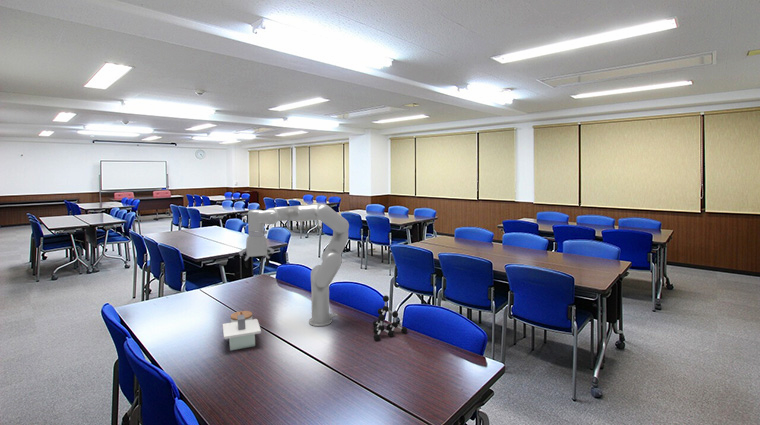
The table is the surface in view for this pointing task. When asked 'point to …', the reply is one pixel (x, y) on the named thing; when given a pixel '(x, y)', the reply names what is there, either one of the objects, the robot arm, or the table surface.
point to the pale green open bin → (242, 342)
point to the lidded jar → (246, 314)
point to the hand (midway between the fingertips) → (257, 266)
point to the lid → (241, 327)
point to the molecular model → (380, 327)
